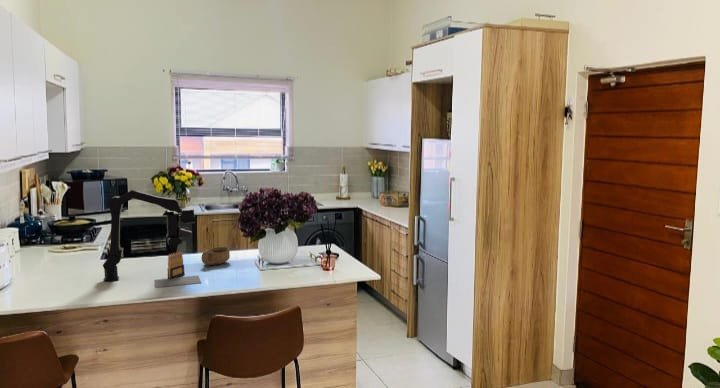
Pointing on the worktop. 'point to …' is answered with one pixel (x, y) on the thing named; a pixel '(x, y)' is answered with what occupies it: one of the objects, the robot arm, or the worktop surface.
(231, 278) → the worktop surface
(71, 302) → the worktop surface
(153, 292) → the worktop surface
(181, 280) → the rubber mat
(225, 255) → the bowl
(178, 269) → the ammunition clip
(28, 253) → the worktop surface
